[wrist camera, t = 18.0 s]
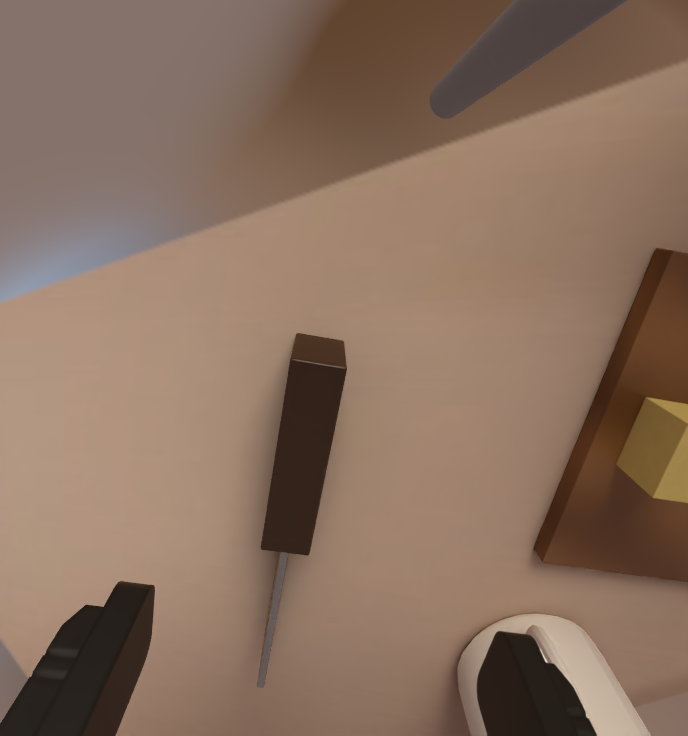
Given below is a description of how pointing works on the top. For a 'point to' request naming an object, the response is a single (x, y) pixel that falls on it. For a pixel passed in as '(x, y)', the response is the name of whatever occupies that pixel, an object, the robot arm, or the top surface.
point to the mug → (571, 656)
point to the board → (608, 436)
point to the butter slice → (659, 450)
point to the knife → (301, 459)
